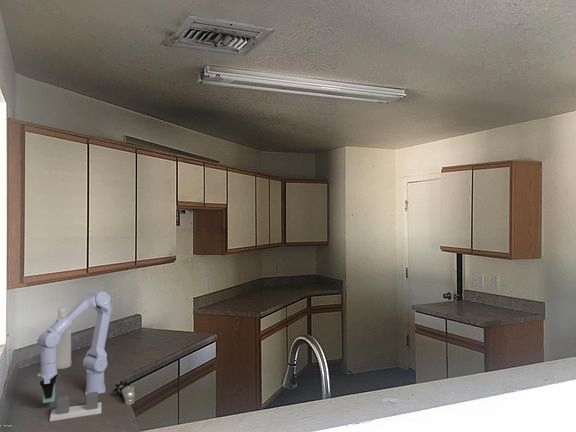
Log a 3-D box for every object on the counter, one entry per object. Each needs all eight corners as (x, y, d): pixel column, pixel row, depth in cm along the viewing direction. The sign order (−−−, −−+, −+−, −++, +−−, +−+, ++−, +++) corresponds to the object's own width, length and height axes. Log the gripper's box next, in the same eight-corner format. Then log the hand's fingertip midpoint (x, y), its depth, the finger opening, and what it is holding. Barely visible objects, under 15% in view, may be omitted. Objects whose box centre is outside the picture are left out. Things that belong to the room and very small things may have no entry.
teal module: (44, 398, 185) (44, 382, 185) (55, 396, 186) (55, 381, 186) (42, 402, 181) (42, 386, 181) (54, 401, 182) (53, 385, 182)
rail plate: (52, 411, 180) (52, 395, 180) (101, 404, 187) (101, 388, 187) (49, 421, 172) (49, 404, 172) (101, 413, 178) (101, 397, 178)
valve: (139, 402, 188) (128, 393, 198) (139, 386, 188) (128, 378, 198) (123, 407, 184) (113, 397, 193) (123, 391, 184) (113, 382, 193)
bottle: (74, 363, 236) (73, 306, 236) (67, 369, 228) (66, 309, 228) (58, 364, 236) (57, 306, 236) (51, 369, 228) (50, 309, 228)
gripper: (39, 357, 189) (40, 390, 189) (35, 369, 175) (35, 404, 175) (58, 355, 191) (59, 387, 191) (55, 366, 178) (56, 401, 178)
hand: (49, 395), depth 184 cm, fingers closed on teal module, 4 cm apart
